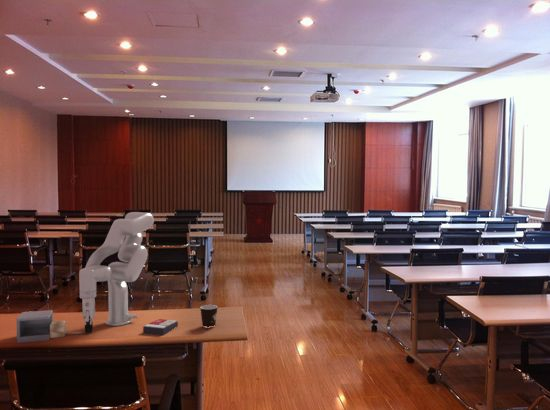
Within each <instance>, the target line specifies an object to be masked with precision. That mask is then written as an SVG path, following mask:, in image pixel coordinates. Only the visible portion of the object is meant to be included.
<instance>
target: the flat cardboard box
mask: <svg viewBox="0 0 550 410" xmlns="http://www.w3.org/2000/svg"><path fill="white" fill-rule="evenodd" d="M177 326H179V322H178V321H177V320H175V319H174V320H173V319H172V320H171V319H161V318H159V319H156V320H154V321H151V322H149V323H148V324H145V325H144V326H143V327H142V334H144V335H153V336H161V337H162V336H165V335H167V334H168V333H169V331H170V332H171V331H173V330H175V329H176V328H175V327H177ZM174 328H175V329H174ZM177 328H178V327H177ZM172 329H173V330H172Z"/></svg>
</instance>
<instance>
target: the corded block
mask: <svg viewBox="0 0 550 410" xmlns="http://www.w3.org/2000/svg"><path fill="white" fill-rule="evenodd" d="M92 322H93V318H91V324H92ZM75 334H86V335H90V334H92V333H85V330H84V331H75V332H74V331H72V332H71V331H70V332H67V321H66V320H56V321H55V320H53V321H52V323H51V324H50V334H49V339H51V338H63V337H65V336H66V335H75Z"/></svg>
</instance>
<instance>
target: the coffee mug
mask: <svg viewBox="0 0 550 410" xmlns="http://www.w3.org/2000/svg"><path fill="white" fill-rule="evenodd" d="M199 309H200V315H201V325H203V326H207V327H209V326H214V325H215V326H216V325H217V324H216V322H217V317H218V315H217V313H218V306H217V305H215V304H205V305H202V306H200V308H199ZM203 326H202V327H203Z"/></svg>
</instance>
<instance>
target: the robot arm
mask: <svg viewBox="0 0 550 410" xmlns="http://www.w3.org/2000/svg"><path fill="white" fill-rule="evenodd" d="M154 221H155V218H154V216H153V214H151V213H150V212H140V211H131V212H128V213H126V215H125V217H124V218H118V219H115V220H114V221H113V223H112V225H111V227H110V229H109V231H108V233H107V236H106V238H105V241H104V242H103V244H102V245H101V246H99V247H98V248H97V249H96V250H95V251H93V252H92V254H91V255H90V256H89V258H88V260H87V262H86V265H85V267H84V268H81V269H80V270H79V274H78V275H79V276H78V277H79V279H78V280H79V282H78V283H79V298H80V299H82V318H83V320H84V331H85V333H91V334H92V333H93V330H94V326H93V325H94V324H93V321H92V324H91V318H92V319H94V318H95V316H96V301H95V298H96V297H97V282H107V286H108V287H107V288H108V319H106V320H105V325H106V326H112V327H113V326H114V327H118V326H124V325H128V324H130V323H131V322H132V319H137V318H138V314H135V313H129V291H128V290H129V289H128V285H127V283H133V282H136V280H138V278H139V276H140V274H141V273H142V270H143V268H144V266H145V265H146V261H147V260H148V256H149V255H148V249H147V248H146V247H145V246H144V245H142V242H143V234H142V233H144V232H145V231H147V230H149V229H151V228H152V226H153V225H154ZM116 253H117V258H118V259H119V261H115V262H114V261H113V262H111V263H109V264H108V266H107V265H101V263H102V262H103V261H104V260H105V259H106V258H107V257H109V256H111V255H114V254H116ZM85 333H84V334H85Z"/></svg>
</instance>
